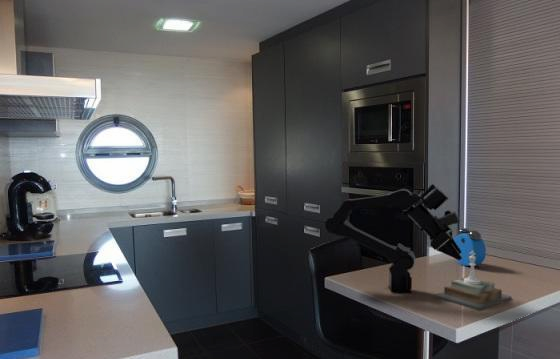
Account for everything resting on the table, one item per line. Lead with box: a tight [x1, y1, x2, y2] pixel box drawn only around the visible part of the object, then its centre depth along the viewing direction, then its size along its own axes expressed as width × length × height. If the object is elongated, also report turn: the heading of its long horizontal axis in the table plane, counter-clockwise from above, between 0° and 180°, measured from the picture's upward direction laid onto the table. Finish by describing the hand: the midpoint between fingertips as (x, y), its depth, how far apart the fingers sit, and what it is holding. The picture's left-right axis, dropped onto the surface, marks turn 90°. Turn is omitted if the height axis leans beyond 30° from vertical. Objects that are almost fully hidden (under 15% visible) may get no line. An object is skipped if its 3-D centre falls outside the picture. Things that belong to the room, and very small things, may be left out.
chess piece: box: [464, 251, 481, 284], centre depth 138 cm, size 5×5×10 cm
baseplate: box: [433, 291, 512, 311], centre depth 138 cm, size 18×15×1 cm
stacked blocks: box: [443, 276, 503, 304], centre depth 138 cm, size 12×12×4 cm
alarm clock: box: [454, 227, 487, 268], centre depth 179 cm, size 13×6×15 cm, turn 15°
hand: (460, 256), depth 139 cm, fingers open, 9 cm apart
